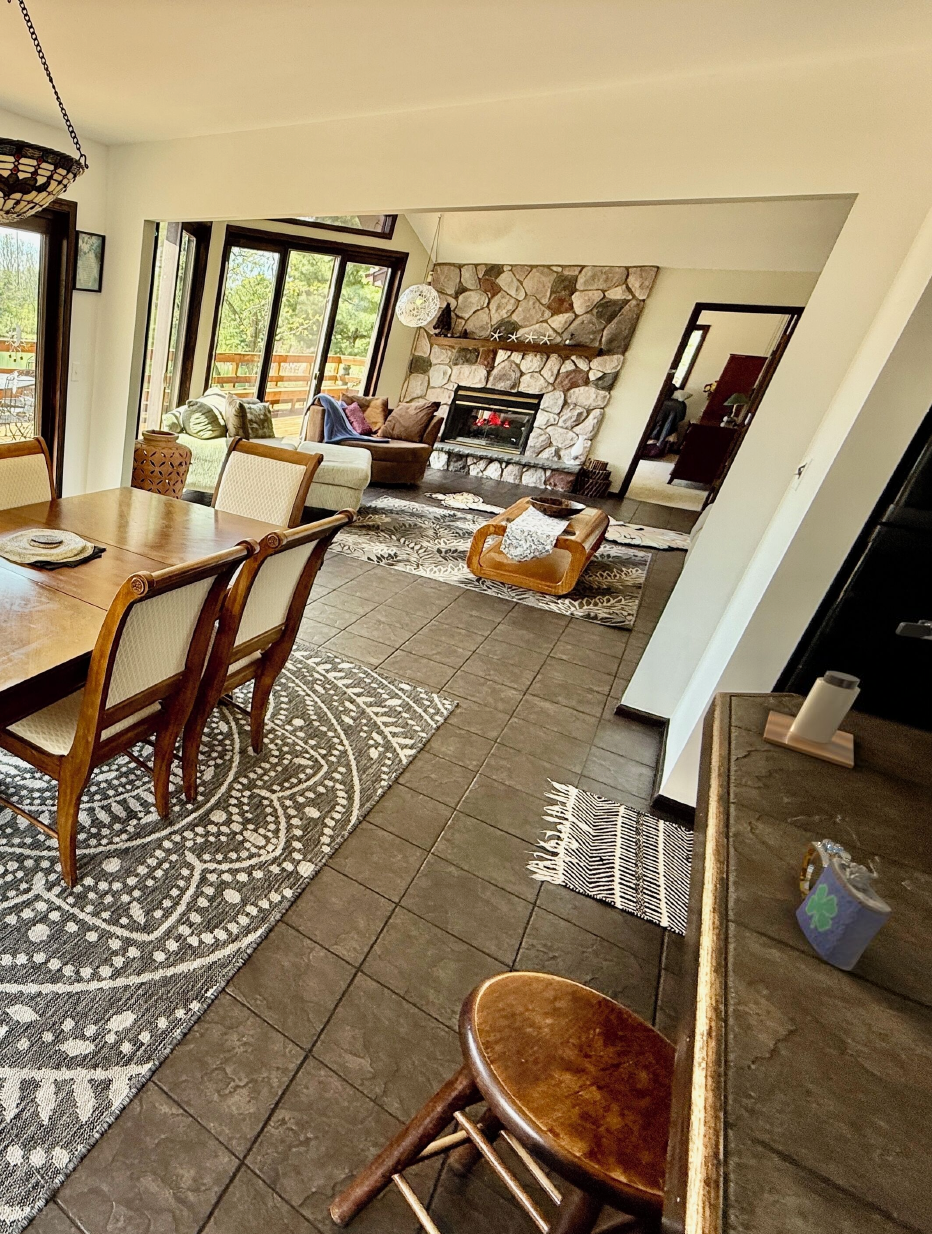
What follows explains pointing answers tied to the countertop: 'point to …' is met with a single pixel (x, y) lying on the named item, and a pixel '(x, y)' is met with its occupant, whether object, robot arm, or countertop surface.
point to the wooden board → (809, 741)
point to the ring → (809, 861)
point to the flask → (842, 913)
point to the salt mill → (826, 707)
